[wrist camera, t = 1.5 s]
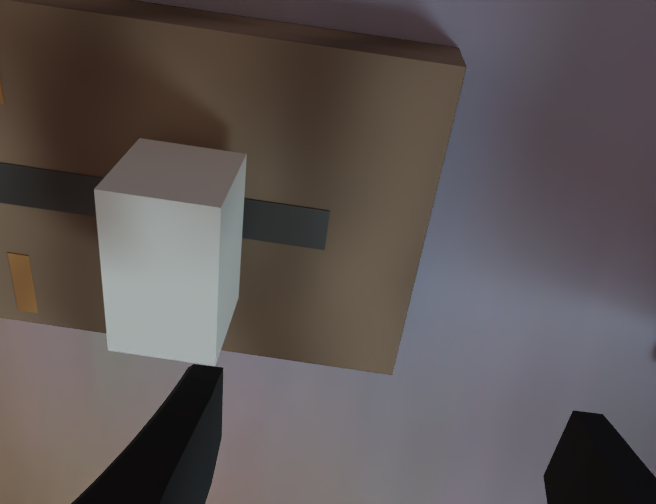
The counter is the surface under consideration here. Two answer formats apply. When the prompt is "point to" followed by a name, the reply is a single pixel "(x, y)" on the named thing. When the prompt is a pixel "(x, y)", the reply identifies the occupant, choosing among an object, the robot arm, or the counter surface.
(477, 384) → the counter surface
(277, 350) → the brown flat slab
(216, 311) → the fader
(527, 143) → the counter surface
